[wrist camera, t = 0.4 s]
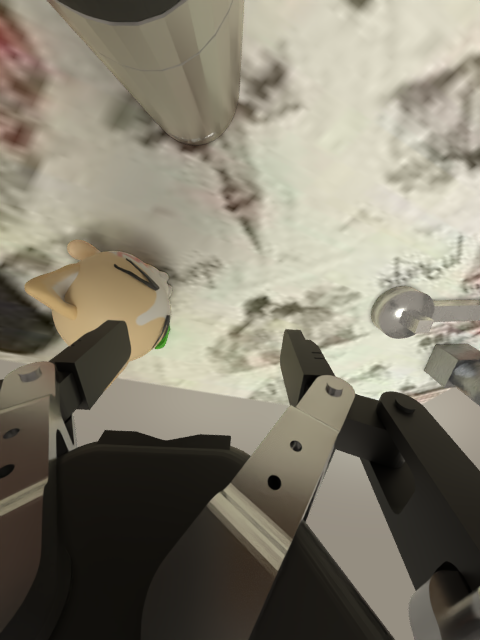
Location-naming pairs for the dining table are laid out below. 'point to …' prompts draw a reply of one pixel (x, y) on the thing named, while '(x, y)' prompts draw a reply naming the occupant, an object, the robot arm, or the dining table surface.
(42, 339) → the dining table surface
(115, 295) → the kitten
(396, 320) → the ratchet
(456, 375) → the cylinder on square base
